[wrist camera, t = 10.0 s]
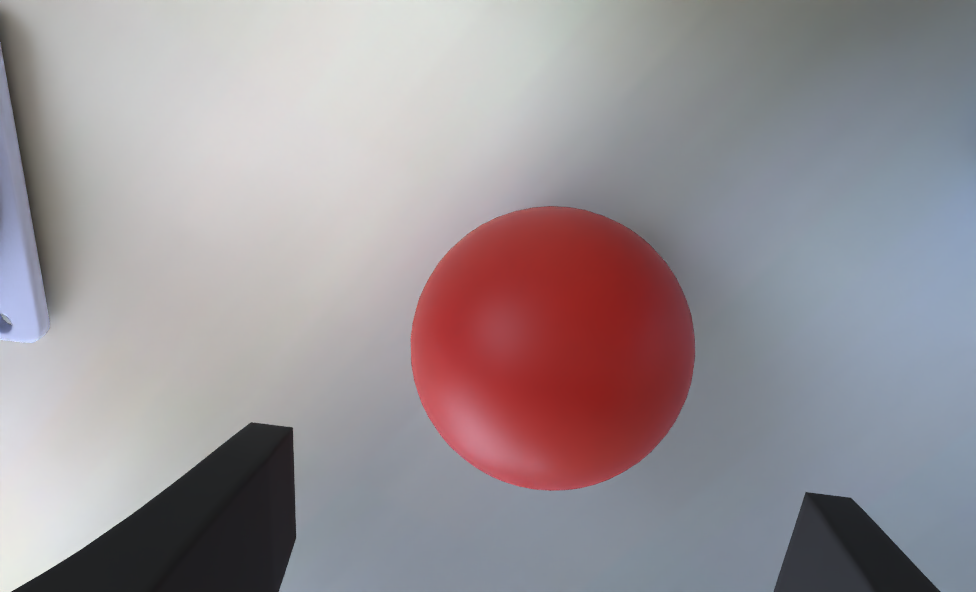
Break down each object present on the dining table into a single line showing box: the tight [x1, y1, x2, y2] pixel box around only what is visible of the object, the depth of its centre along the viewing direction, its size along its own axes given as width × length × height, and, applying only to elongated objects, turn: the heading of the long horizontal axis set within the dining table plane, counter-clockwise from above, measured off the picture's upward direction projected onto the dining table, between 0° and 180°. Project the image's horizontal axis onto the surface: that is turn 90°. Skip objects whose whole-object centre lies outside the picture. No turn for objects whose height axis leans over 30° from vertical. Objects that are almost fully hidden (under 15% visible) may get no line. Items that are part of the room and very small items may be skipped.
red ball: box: [411, 206, 695, 491], centre depth 16 cm, size 5×5×6 cm
